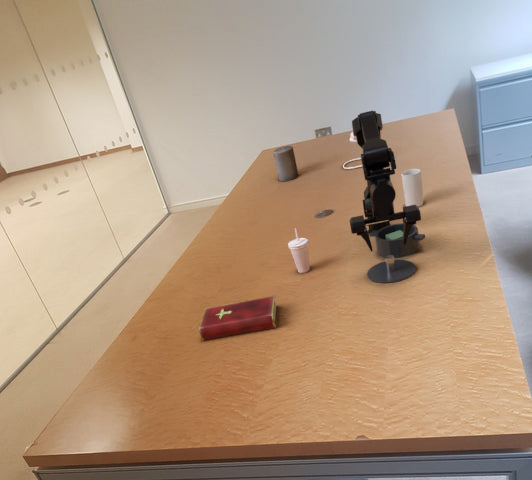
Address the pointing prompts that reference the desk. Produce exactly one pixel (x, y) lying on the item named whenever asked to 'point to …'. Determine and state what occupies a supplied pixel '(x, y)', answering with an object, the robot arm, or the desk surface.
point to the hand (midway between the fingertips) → (388, 247)
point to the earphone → (353, 159)
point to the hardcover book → (238, 318)
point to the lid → (391, 270)
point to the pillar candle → (285, 163)
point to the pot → (396, 241)
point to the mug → (412, 187)
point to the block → (394, 235)
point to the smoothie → (300, 253)
